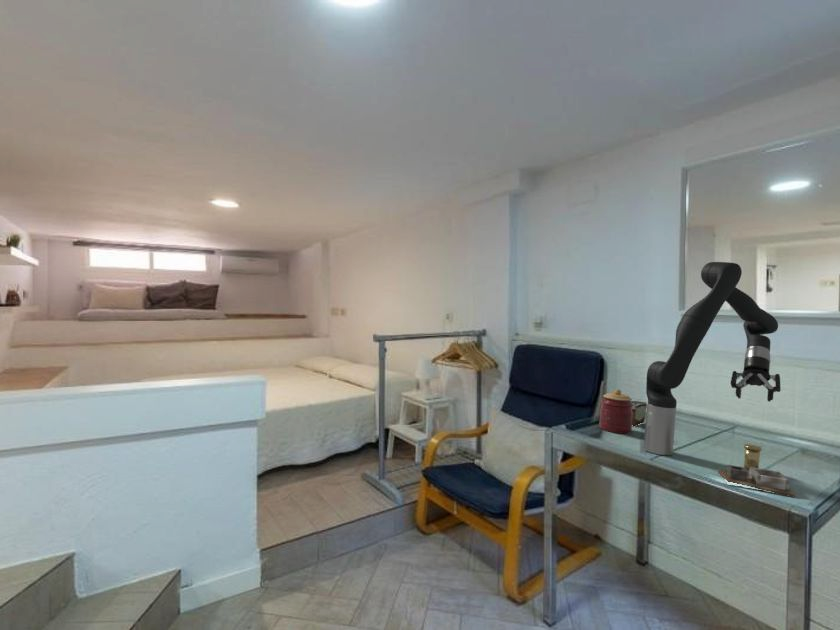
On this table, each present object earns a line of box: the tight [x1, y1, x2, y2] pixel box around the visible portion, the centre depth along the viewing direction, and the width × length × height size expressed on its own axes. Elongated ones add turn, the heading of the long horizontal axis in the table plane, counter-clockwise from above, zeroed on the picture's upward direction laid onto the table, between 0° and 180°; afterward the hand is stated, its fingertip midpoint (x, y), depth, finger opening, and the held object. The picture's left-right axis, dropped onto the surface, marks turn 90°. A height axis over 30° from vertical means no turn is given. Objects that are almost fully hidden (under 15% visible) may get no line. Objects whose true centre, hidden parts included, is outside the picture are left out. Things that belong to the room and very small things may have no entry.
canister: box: [598, 388, 634, 434], centre depth 188 cm, size 13×13×18 cm
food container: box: [631, 400, 648, 427], centre depth 200 cm, size 12×6×10 cm, turn 130°
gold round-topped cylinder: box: [743, 443, 762, 471], centre depth 147 cm, size 5×5×8 cm
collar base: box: [717, 464, 795, 497], centre depth 133 cm, size 16×12×4 cm
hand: (753, 398), depth 155 cm, fingers open, 8 cm apart
